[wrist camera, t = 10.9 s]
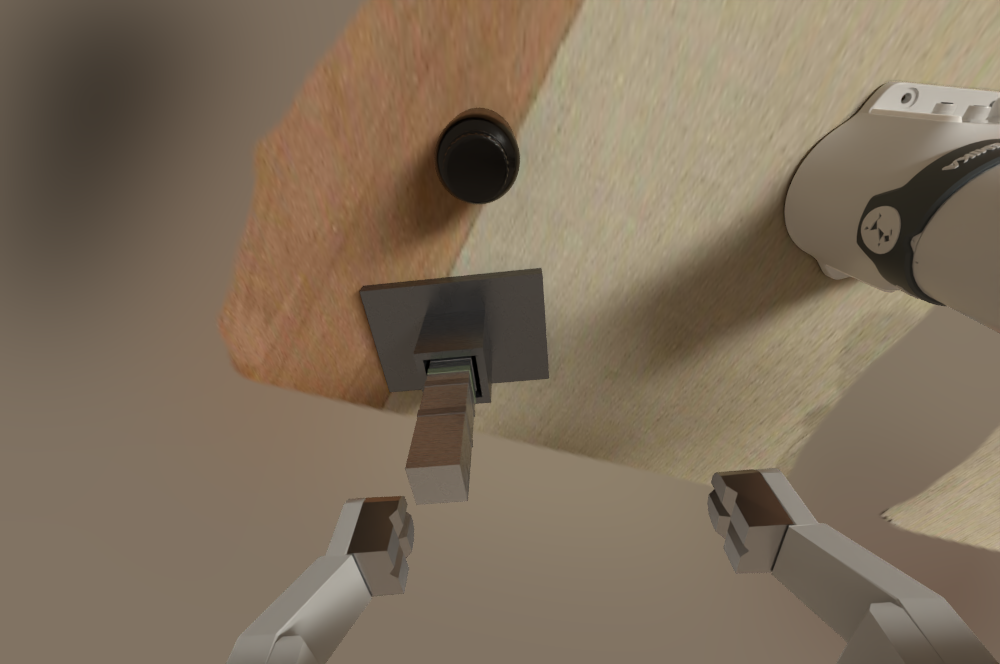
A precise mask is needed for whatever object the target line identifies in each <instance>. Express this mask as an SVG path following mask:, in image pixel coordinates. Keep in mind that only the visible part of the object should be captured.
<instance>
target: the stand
mask: <svg viewBox="0 0 1000 664" xmlns="http://www.w3.org/2000/svg"><path fill="white" fill-rule="evenodd" d="M360 295H361V298H362V302H363V305H364V308H365V312H366V315H367V318H368V322H369V325H370V328H371V332H372V335H373V338H374V342H375V345H376V348H377V352H378V355H379V358H380V362H381V365H382V368H383V372H384V375H385V378H386V382H387V385H388V388H389V392H398V391H409V390H421V389H422V391H423V392H424V385H425V381H426V380H427V376H428V375H427V373H428V369H429V367H430V360H431V359H441V358H452V357H463V356H474V360H475V366H476V372H477V391H476V403H475V404H479V403H491V388H492V383H502V382H514V381H525V380H537V379H548V378H549V371H548V355H547V339H546V324H545V308H544V292H543V276H542V270H541V268H537V269H527V270H517V271H507V272H497V273H487V274H477V275H467V276H457V277H447V278H437V279H427V280H417V281H407V282H397V283H387V284H377V285H367V286H363V287H362V289H361V290H360Z"/></svg>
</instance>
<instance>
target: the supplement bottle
mask: <svg viewBox="0 0 1000 664" xmlns="http://www.w3.org/2000/svg"><path fill="white" fill-rule="evenodd" d="M519 165H520V154H519V148H518V145H517V142H516V139H515V136H514V134H513V131H512V129H511V127H510V126H509V124H508V123H507V121H506V120H505V119H504V118H503V117H502V116H500V115H499V114H498V113H496V112H494V111H492V110H489V109H485V108H472V109H469V110H466V111H464V112H462V113H460V114H459V115H458V116H456V117H455V118H454V119H453V120H452V121H451V122H450V123H449V124H448V125H447V126H446V128H445V129H444V130H443V132H442V133H441V135H440V137H439V139H438V141H437V145H436V149H435V168H436V172H437V175H438V177H439V179H440V181H441V183H442V185H443V186H444V187H445V189H446V190H447V191H448V192H449V193H450V194H451V195H453V196H454V197H456V198H457V199H459V200H461V201H463V202H466V203H470V204H486V203H490V202H493V201H495V200H497V199H499V198H501V197H502V196H503V195H504V194H506V193H507V192H508V191H509V189H510V188H511V187H512V185H513V184H514V182H515V180H516V177H517V175H518V171H519Z"/></svg>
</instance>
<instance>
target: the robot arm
mask: <svg viewBox="0 0 1000 664" xmlns="http://www.w3.org/2000/svg"><path fill="white" fill-rule="evenodd" d="M903 95H905V99H904V100H903V101H902V102H901V99H902V97H903ZM785 223H786V227H787V230H788V233H789V235H790V237H791V239H792V240H793V241H794V243H795V244H796V245H797V246H798V247H799V248H800V249H802V250H803V251H805V252H806V253H808V254H810V255H811V256H813V257H814V258H815V259H816V260H817V261H818V263H819V266H820V268H821V270H822V271H823V273H824V274H825V275H826V276H828V277H830V278H833V279H836V280H839V279H844V278H848V277H852V278H855V279H857V280H859V281H861V282H864V283H866V284H868V285H870V286H873V287H875V288H877V289H880V290H882V291H885V292H894V291H895V290H901V291H903V292H905V293H906V294H908V295H910V296H913V297H915V298H917V299H918V298H919V299H921V300H924V301H927V302H929V303H932V304H935V305H941V306H948V307H950V308H952V309H954V310H956V311H958V312H960V313H962V314H963V315H965V316H967V317H969V318H971V319H973V320H975V321H977V322H979V323H981V324H983V325H984V326H986V327H988V328H990V329H992V330H994V331H996V332H998V333H1000V91H990V90H981V89H971V88H961V87H952V86H942V85H932V84H923V83H913V82H903V81H890V82H887V83H885V84H884V85H882V86H881V87H880V88H879V89H878V90H877V91H876V92H875V93H874V94H873V95H872V96H871V97H870V98H869V100H868V101H867V102H866V103H865V104H864V106H863V107H862V108H861V109H860V111H859V112H858V113H857V114H856V115H855V116H853V117H852V118H851V119H849V120H848V121H847V122H845V123H844V124H842V125H841V126H839V127H838V128H837V129H835V130H834V131H832V132H831V133H830V134H829V135H827V136H826V137H825V138H824V139H823V140H822V141H821V142H820V143H818V144H817V146H816V147H815V148H814V149H813V150H812V151H811V152H810V153H809V154H808V156H807V157H806V158H805V160H804V161H803V162H802V164H801V165H800V167H799V169H798V170H797V172H796V174H795V176H794V178H793V180H792V182H791V185H790V187H789V190H788V193H787V197H786V202H785ZM711 483H712V485H713V487H714V490H713V491H712V492H711V493H710V494H709V497H708V511H709V516H710V519H711V522H712V524H713V527H714V529H715V531H716V532H717V533H718V534H720V535H721V536H722V537H723V538H725V539H726V540H725V544H724V550H725V552H726V554H727V556H728V558H729V560H730V563H731V565H732V567H733V569H734V571H735V573H736V574H737V573H765V572H766V573H767V572H772V575H773V576H774V577H775V578H776V579H777V580H778V581H780V582H781V583H782V584H783V585H784V586H785V587H786V588H787V589H788V590H790V591H791V592H792V593H793V594H794V595H795V596H796V597H797V598H798V599H800V600H801V601H802V602H803V603H804V604H805V605H806V606H807V607H808V608H810V609H811V610H812V611H813V612H814V613H815V614H816V615H818V616H819V617H820V618H821V619H822V620H823V621H824V622H825V623H826V624H827V625H829V626H830V627H831V628H832V629H833V630H834V631H835V632H836V633H837V634H839V635H840V636H841V637H842V638H843V639H844V640H845V641H846V642H847V645H846V647H845V649H844V650H843V652H842V654H841V655H840V657H839V659H838V662H837V664H999V663H998V662H997V660H996V659H995V658H994V657H993V656H992V655H991V653H990V652H989V651H988V650H987V649H986V647H985V646H984V645H983V644H982V643H981V642H980V641H979V639H978V638H977V637H976V636H975V634H974V633H973V632H972V631H971V630H970V628H969V627H968V626H967V625H966V624H965V623H964V621H963V620H962V619H961V618H960V617H959V615H958V614H957V613H956V612H955V611H954V609H953V608H952V607H951V606H950V605H949V604H948V603H947V601H946V600H945V599H944V598H943V597H941V596H940V595H938V594H937V593H935V592H933V591H932V590H930V589H928V588H927V587H925V586H924V585H922V584H921V583H919V582H917V581H916V580H914V579H913V578H911V577H909V576H908V575H906V574H905V573H903V572H902V571H900V570H898V569H897V568H895V567H894V566H892V565H890V564H889V563H887V562H886V561H884V560H882V559H881V558H879V557H878V556H876V555H875V554H873V553H871V552H870V551H868V550H867V549H865V548H863V547H862V546H860V545H859V544H857V543H855V542H854V541H852V540H851V539H849V538H847V537H846V536H844V535H843V534H841V533H840V532H838V531H836V530H835V529H833V528H832V527H830V526H828V525H827V524H825V523H820V524H819V523H818V522H817V521H816V519H815V518H814V517H813V515H812V514H811V513H810V511H809V510H808V508H807V507H806V505H805V504H804V503H803V501H802V500H801V499H800V497H799V496H798V494H797V493H796V492H795V490H794V489H793V487H792V486H791V485H790V483H789V482H788V480H787V479H786V478H785V476H784V475H783V473H782V472H781V471H780V470H779V469H777V468H769V469H756V470H754V469H750V470H739V471H727V472H716V473H715V474H714V475H713V477H712V481H711ZM406 509H407V502H406V499H405V497H404V496H394V497H372V498H356V499H348V500H347V501H346V503H345V504H344V506H343V508H342V511H341V514H340V516H339V520H338V522H337V525H336V527H335V530H334V533H333V536H332V538H331V541H330V544H329V547H328V549H327V552H326V555H325V556H321V557H319V558H318V559H317V560H316V561H315V562H314V563H313V564H312V565H311V566H310V567H309V568H308V569H307V570H306V571H305V572H304V573H303V574H301V575H300V576H299V577H298V578H297V579H296V580H295V581H294V582H293V583H292V584H291V586H289V587H288V589H286V591H284V592H283V593H282V594H281V595H280V596H279V597H278V598H277V599H276V600H275V601H274V602H273V603H272V604H271V605H270V606H269V607H268V608H267V609H266V610H265V612H263V613H262V614H261V615H260V616H259V617H258V618H257V619H256V620H255V621H254V622H253V623H252V624H251V625H250V626H249V627H248V628H247V629H246V630H245V631H244V632H243V633H242V634H241V635H240V636H239V637H238V639H237V641H236V643H235V645H234V648H233V650H232V652H231V654H230V656H229V658H228V660H227V663H226V664H325V663H326V662H327V661H328V659H329V658H330V657H331V655H332V654H333V652H334V651H335V650H336V648H337V646H338V645H339V644H340V643H341V641H342V640H343V638H344V637H345V636H346V634H347V633H348V631H349V630H350V629H351V627H352V626H353V624H354V623H355V622H356V620H357V619H358V617H359V616H360V615H361V613H362V612H363V610H364V609H365V608H366V606H367V605H368V603H369V602H370V601H371V599H372V598H371V597H372V596H383V595H394V594H404V591H405V586H406V581H407V575H408V570H409V567H408V564H407V561H406V558H407V557H408V555H409V554H410V553H411V552H412V548H413V542H414V526H413V520H412V517H411V515H410V514H409V513H407V512H406Z"/></svg>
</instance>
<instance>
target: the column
mask: <svg viewBox="0 0 1000 664" xmlns="http://www.w3.org/2000/svg"><path fill="white" fill-rule="evenodd" d="M427 375H428V376H427V380H426V381H425V385H424V392H423V396H422V401H421V405H420V409H419V410H418V414H417V421H416V426H415V430H414V434H413V438H412V442H411V447H410V451H409V455H408V459H407V463H406V467H405V470H406V473H407V476H408V479H409V483H410V486H411V489H412V492H413V495H414V499H415V502H416V504H417V505H419V504H433V503H448V502H461V501H468V491H469V477H470V463H471V451H472V447H473V439H472V438H473V425H474V417H475V403H476V391H477V372H476V366H475V360H474V356H463V357H452V358H441V359H431V360H430V367H429V369H428V373H427Z"/></svg>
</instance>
